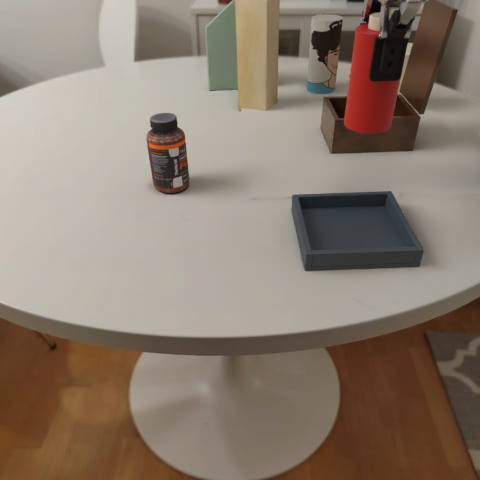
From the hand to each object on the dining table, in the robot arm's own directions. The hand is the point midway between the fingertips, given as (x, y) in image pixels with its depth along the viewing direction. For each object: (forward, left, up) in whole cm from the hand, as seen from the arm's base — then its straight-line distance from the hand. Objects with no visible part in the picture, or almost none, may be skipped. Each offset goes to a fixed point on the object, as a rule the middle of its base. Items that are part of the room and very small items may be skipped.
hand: (376, 69), depth 49 cm
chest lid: (-17, -30, -7) cm, 35 cm away
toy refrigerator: (+10, -51, -22) cm, 56 cm away
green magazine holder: (+13, -67, -22) cm, 71 cm away
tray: (0, 0, -22) cm, 22 cm away
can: (-21, -48, -22) cm, 56 cm away
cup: (-6, -61, -22) cm, 65 cm away
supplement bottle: (+26, -16, -22) cm, 37 cm away
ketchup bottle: (0, 0, -6) cm, 6 cm away
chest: (-9, -30, -22) cm, 38 cm away
